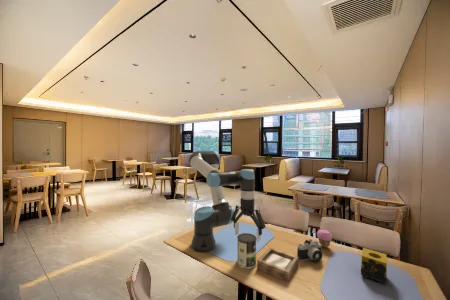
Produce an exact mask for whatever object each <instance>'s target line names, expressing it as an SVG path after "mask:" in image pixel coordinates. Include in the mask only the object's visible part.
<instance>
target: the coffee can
mask: <svg viewBox="0 0 450 300" xmlns="http://www.w3.org/2000/svg"><path fill="white" fill-rule="evenodd" d="M236 236H237V237H236V238H237V249H236V250H237V253H236V254H237V255H236V256H237V258H236V260H237V262H236V264H237V265H238V266H239V267H240V268H243V269H254V268H255V267H257V235H254V234H252V233H250V232H249V233H246V232H245V233H243V232H242V233H238V234H237V235H236Z"/></svg>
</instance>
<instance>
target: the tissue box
mask: <svg viewBox="0 0 450 300" xmlns="http://www.w3.org/2000/svg"><path fill="white" fill-rule="evenodd" d="M361 253H362V254H361V266H360V275H361V276H364V277H366V278H368V279H371V280H373V281H377V282H381V283H383V284H387V275H388V274H387V268H388V259H387V253H383V252H379V251H375V250H372V249H369V248H365V247H363V248H362V252H361Z"/></svg>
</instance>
